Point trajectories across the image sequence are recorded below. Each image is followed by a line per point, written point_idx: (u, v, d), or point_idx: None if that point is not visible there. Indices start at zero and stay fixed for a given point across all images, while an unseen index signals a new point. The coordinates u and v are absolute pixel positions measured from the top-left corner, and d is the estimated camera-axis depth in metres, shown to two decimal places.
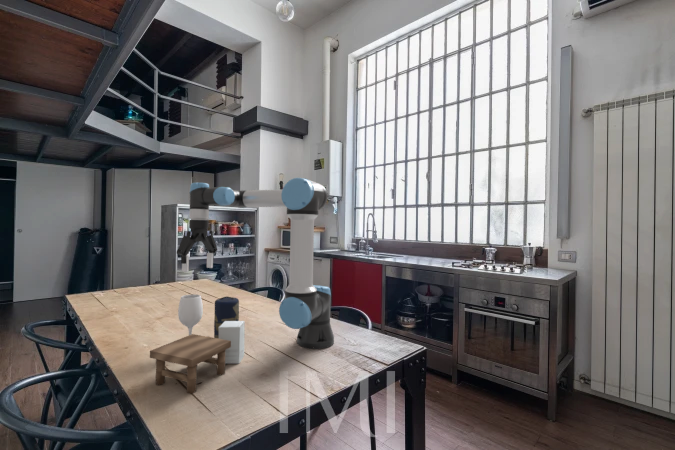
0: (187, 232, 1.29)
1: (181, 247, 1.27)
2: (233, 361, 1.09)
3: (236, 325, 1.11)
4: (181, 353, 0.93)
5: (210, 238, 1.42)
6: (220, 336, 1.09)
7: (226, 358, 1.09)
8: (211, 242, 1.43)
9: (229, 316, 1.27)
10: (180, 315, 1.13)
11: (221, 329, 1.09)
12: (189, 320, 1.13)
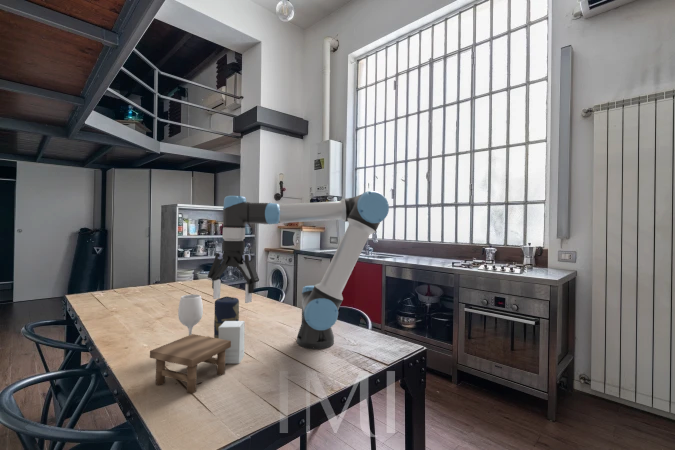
0: None
1: None
2: (233, 361, 1.09)
3: (236, 325, 1.11)
4: (181, 353, 0.93)
5: None
6: (220, 336, 1.09)
7: (226, 358, 1.09)
8: None
9: (229, 316, 1.27)
10: (180, 315, 1.13)
11: (221, 329, 1.09)
12: (189, 320, 1.13)
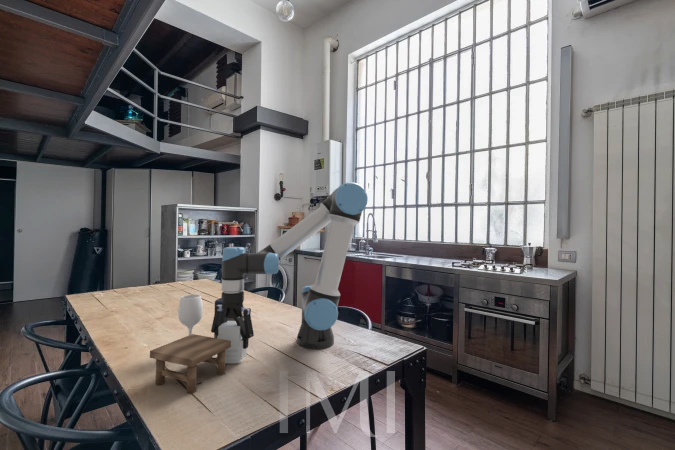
0: None
1: None
2: (233, 361, 1.09)
3: (236, 325, 1.11)
4: (181, 353, 0.93)
5: None
6: (220, 336, 1.09)
7: (226, 358, 1.09)
8: None
9: None
10: (180, 315, 1.13)
11: (220, 329, 1.09)
12: (189, 320, 1.13)
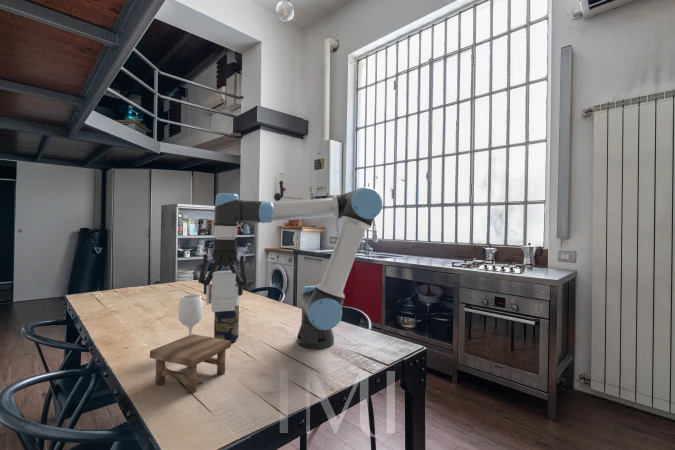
0: None
1: None
2: (228, 308, 1.07)
3: (230, 272, 1.09)
4: (181, 353, 0.93)
5: None
6: (215, 283, 1.05)
7: (221, 306, 1.06)
8: None
9: (229, 316, 1.27)
10: (180, 315, 1.13)
11: (216, 276, 1.05)
12: (189, 320, 1.13)
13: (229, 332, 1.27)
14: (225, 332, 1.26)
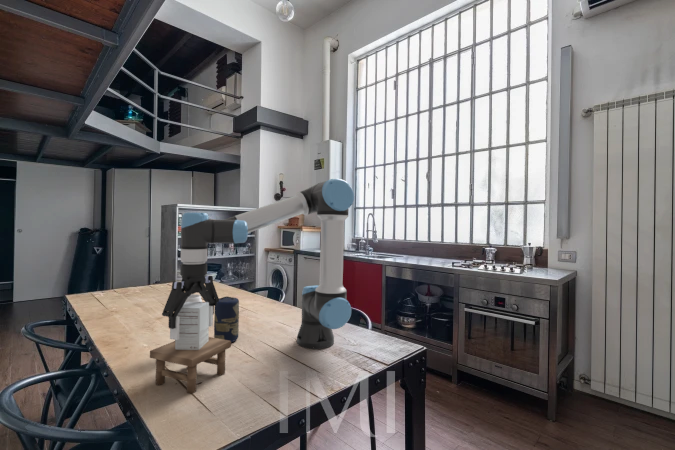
0: (177, 284, 0.92)
1: (169, 306, 0.90)
2: (206, 341, 1.00)
3: (202, 303, 1.01)
4: (181, 353, 0.93)
5: (209, 286, 1.04)
6: (200, 318, 0.96)
7: (203, 340, 0.98)
8: (211, 291, 1.05)
9: (229, 316, 1.27)
10: None
11: (200, 310, 0.96)
12: None
13: (229, 332, 1.27)
14: (225, 332, 1.26)
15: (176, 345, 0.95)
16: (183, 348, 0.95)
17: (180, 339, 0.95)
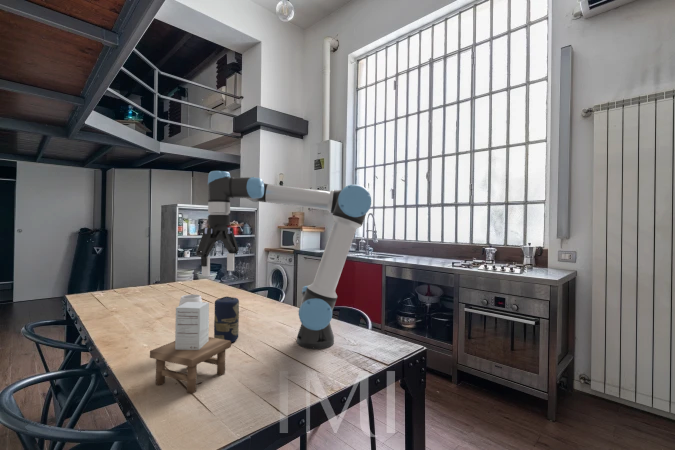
0: (207, 229, 1.09)
1: (202, 247, 1.07)
2: (206, 341, 1.00)
3: (202, 303, 1.01)
4: (181, 353, 0.93)
5: (231, 236, 1.22)
6: (200, 318, 0.96)
7: (203, 340, 0.98)
8: (232, 241, 1.23)
9: (229, 316, 1.27)
10: None
11: (200, 310, 0.96)
12: None
13: (229, 332, 1.27)
14: (225, 332, 1.26)
15: (176, 345, 0.95)
16: (183, 348, 0.95)
17: (180, 339, 0.95)
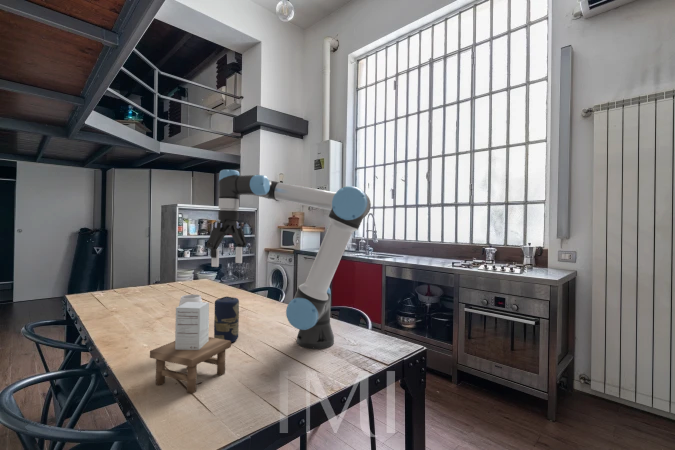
0: (217, 223, 1.18)
1: (212, 239, 1.16)
2: (206, 341, 1.00)
3: (202, 303, 1.01)
4: (181, 353, 0.93)
5: (239, 231, 1.31)
6: (200, 318, 0.96)
7: (203, 340, 0.98)
8: (240, 235, 1.31)
9: (229, 316, 1.27)
10: None
11: (200, 310, 0.96)
12: None
13: (229, 332, 1.27)
14: (225, 332, 1.26)
15: (176, 345, 0.95)
16: (183, 348, 0.95)
17: (180, 339, 0.95)
